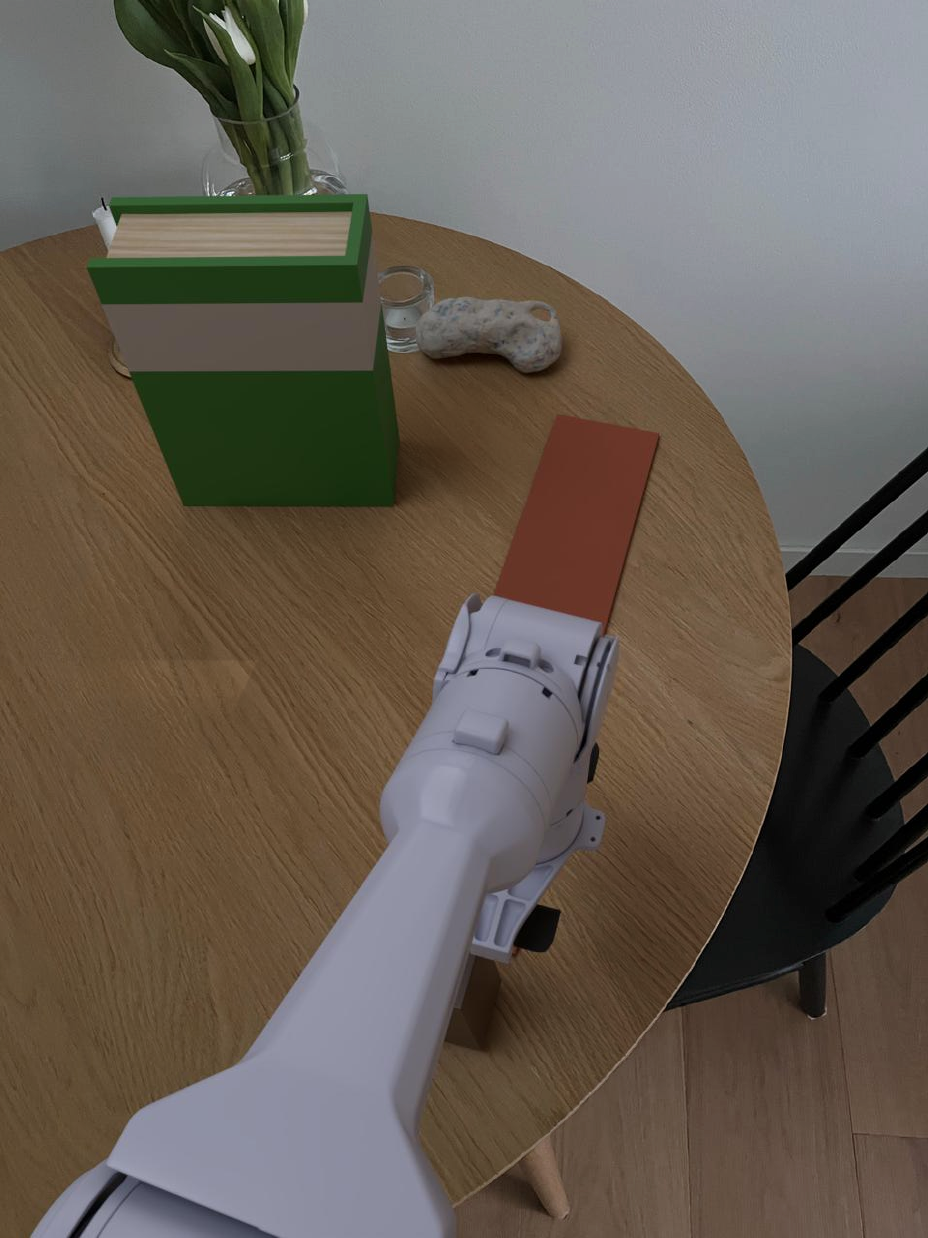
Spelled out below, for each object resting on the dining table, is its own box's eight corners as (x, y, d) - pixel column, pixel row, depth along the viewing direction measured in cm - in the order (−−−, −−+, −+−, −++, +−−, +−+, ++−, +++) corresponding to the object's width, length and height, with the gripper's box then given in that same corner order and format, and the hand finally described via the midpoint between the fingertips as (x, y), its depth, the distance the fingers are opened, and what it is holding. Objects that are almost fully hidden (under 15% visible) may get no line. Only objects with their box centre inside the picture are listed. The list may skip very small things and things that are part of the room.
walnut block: (481, 1051, 63) (461, 1010, 57) (413, 1032, 64) (385, 989, 58) (502, 980, 65) (484, 932, 59) (435, 962, 67) (411, 914, 60)
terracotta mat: (515, 956, 67) (515, 954, 66) (380, 916, 68) (380, 914, 68) (659, 436, 91) (659, 432, 90) (556, 416, 92) (557, 413, 92)
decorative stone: (414, 381, 96) (409, 338, 91) (417, 331, 99) (413, 286, 95) (562, 379, 95) (564, 334, 91) (559, 328, 99) (561, 283, 94)
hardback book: (183, 505, 89) (86, 267, 69) (198, 440, 93) (111, 197, 73) (393, 506, 88) (356, 264, 68) (399, 440, 92) (367, 193, 72)
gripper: (575, 942, 46) (563, 1018, 57) (639, 666, 54) (618, 781, 65) (420, 900, 47) (439, 982, 59) (505, 636, 55) (507, 754, 66)
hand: (525, 874), depth 62 cm, fingers open, 7 cm apart
